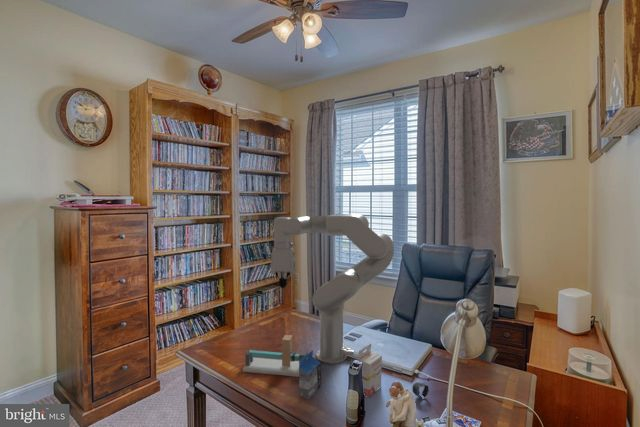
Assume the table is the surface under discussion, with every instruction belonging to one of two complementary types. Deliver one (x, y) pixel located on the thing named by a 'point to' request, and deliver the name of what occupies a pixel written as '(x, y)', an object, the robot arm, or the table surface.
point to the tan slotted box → (287, 349)
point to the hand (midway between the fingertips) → (283, 287)
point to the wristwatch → (416, 389)
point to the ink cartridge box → (370, 370)
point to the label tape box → (309, 376)
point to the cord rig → (272, 363)
